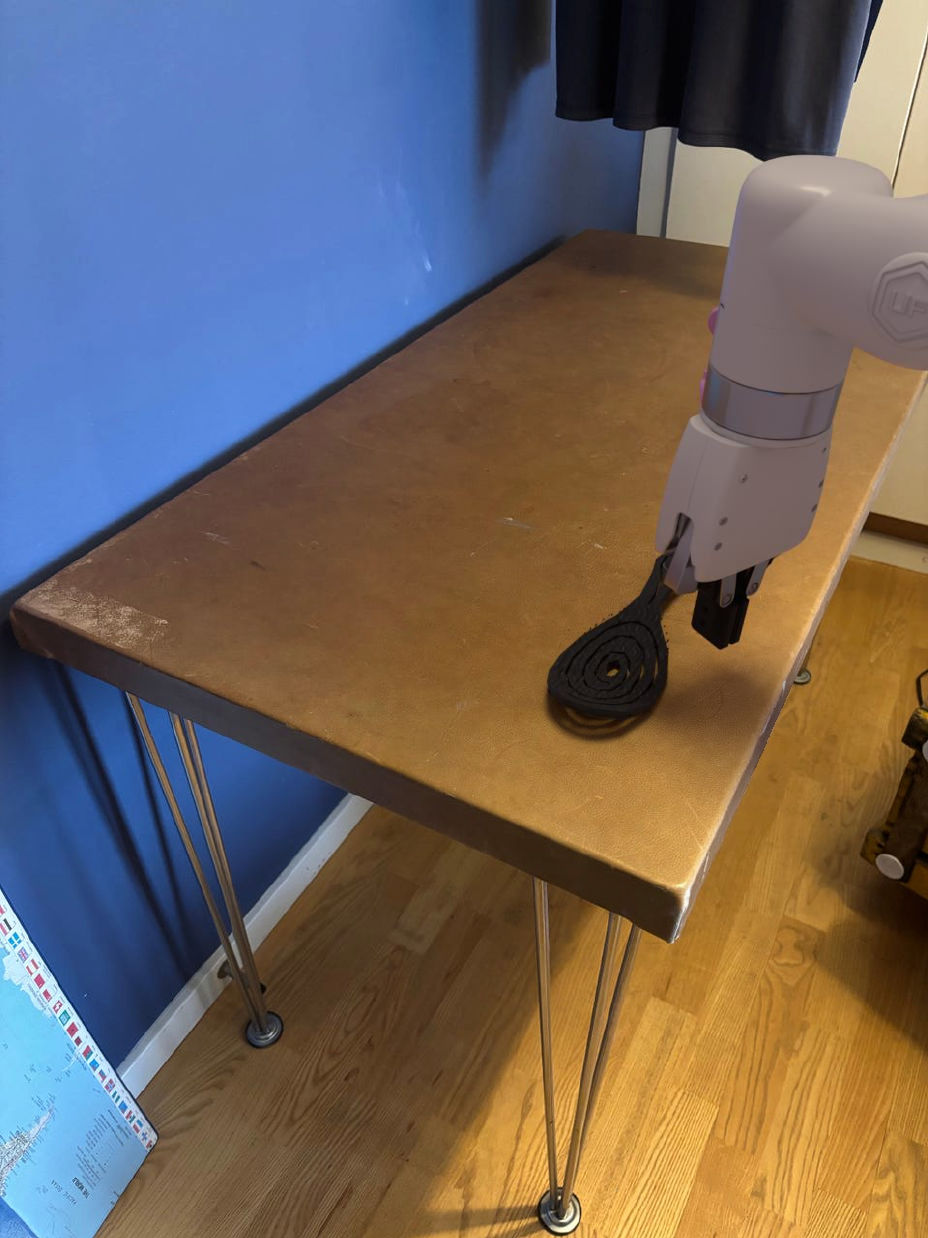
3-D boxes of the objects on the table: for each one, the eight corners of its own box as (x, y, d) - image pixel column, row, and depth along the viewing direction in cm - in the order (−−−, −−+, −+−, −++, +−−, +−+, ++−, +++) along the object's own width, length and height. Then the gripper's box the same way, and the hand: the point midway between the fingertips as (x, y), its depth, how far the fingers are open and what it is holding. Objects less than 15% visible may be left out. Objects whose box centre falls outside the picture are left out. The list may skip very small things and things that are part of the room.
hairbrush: (736, 544, 79) (635, 714, 61) (728, 579, 81) (629, 754, 63) (645, 520, 82) (524, 675, 64) (640, 554, 84) (521, 714, 66)
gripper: (810, 346, 58) (752, 575, 70) (627, 400, 52) (597, 641, 64) (908, 390, 53) (828, 629, 65) (719, 456, 47) (669, 706, 59)
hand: (714, 634), depth 65 cm, fingers closed
